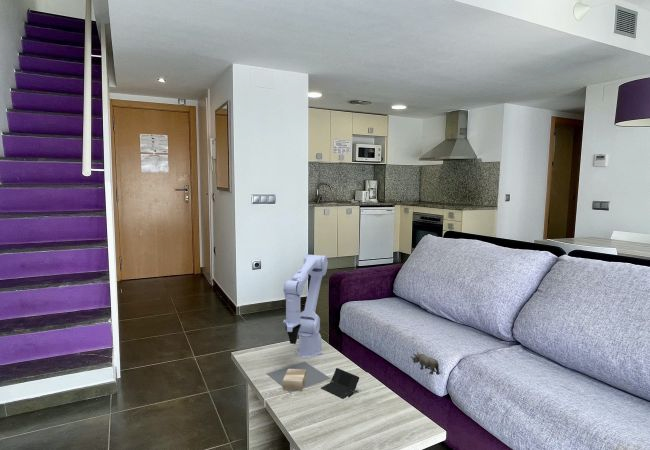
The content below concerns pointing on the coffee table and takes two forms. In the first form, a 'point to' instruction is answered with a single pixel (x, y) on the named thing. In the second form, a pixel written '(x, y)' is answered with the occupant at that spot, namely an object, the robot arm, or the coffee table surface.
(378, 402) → the coffee table surface
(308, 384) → the charcoal mat
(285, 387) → the maple slab
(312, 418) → the coffee table surface
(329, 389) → the handheld gaming console
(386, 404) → the coffee table surface
